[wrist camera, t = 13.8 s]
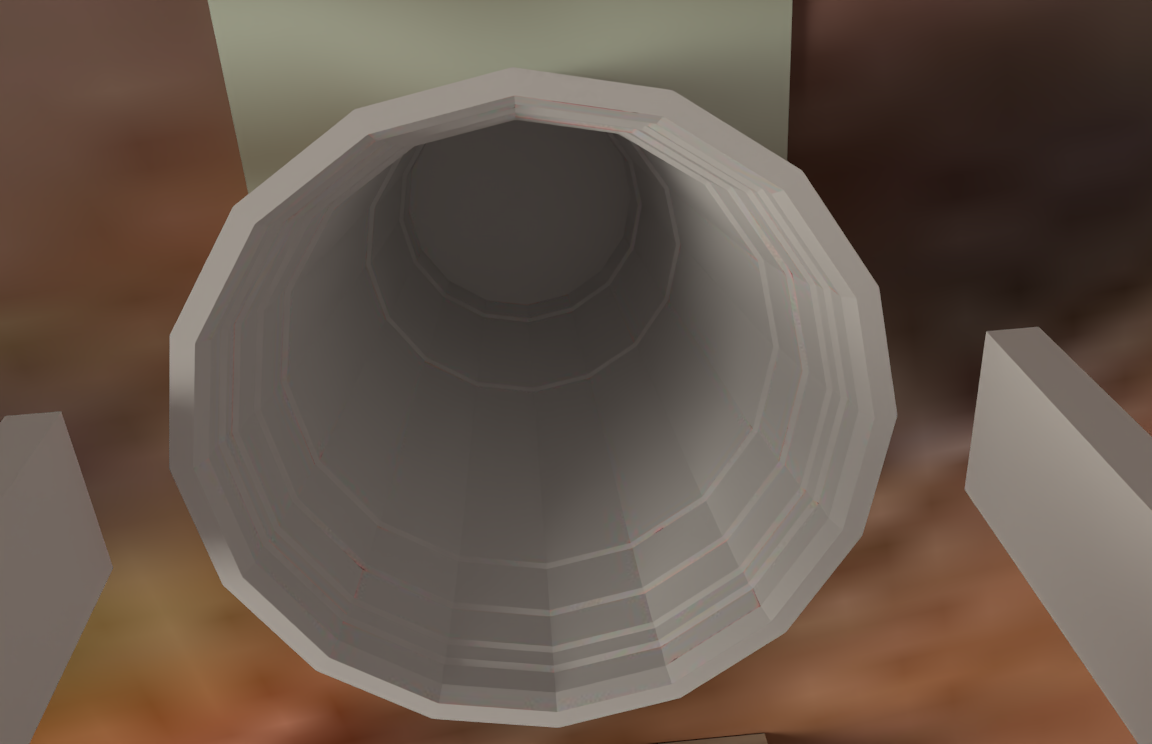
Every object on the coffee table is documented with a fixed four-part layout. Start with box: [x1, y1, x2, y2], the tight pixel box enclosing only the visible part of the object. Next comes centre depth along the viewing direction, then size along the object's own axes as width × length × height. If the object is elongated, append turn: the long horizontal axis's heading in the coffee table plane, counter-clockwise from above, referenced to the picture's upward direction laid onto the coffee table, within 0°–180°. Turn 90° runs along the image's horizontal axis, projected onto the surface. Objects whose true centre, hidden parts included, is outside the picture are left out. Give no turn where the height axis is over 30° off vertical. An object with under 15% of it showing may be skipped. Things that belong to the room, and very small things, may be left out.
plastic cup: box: [169, 67, 897, 728], centre depth 21 cm, size 11×11×12 cm
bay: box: [208, 0, 792, 744], centre depth 27 cm, size 30×13×5 cm, turn 3°
